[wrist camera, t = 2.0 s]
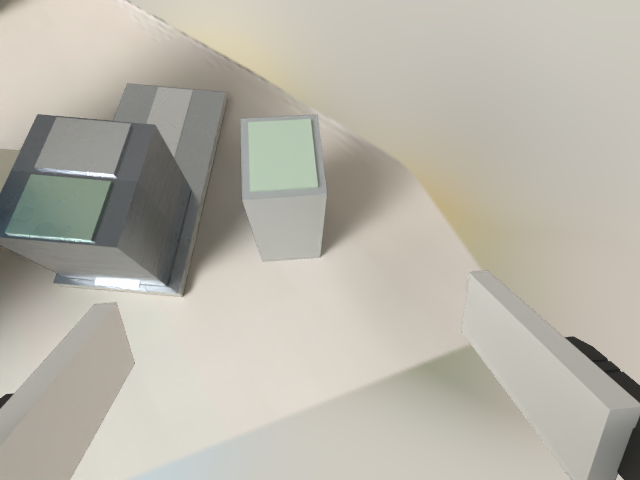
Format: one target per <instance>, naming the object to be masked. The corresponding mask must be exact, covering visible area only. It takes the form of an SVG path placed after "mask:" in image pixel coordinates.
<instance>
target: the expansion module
mask: <svg viewBox="0 0 640 480" xmlns="http://www.w3.org/2000/svg"><path fill="white" fill-rule="evenodd" d="M241 171H242V202H243V205H244V208H245V211H246V214H247V217H248V220H249V223H250V226H251V229H252V232H253V235H254V238H255V241H256V244H257V247H258V250H259V253H260V256H261V259H262V262H268V261H281V260H293V259H306V258H319V257H320V254H321V245H322V236H323V227H324V218H325V209H326V200H327V189H326V181H325V173H324V164H323V156H322V147H321V139H320V130H319V122H318V114H317V115H298V116H278V117H258V118H241Z"/></svg>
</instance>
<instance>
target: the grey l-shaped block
mask: <svg viewBox="0 0 640 480" xmlns="http://www.w3.org/2000/svg"><path fill="white" fill-rule="evenodd" d="M226 103H227V96H226V92H219V91H207V90H196V89H185V88H173V87H162V86H151V85H139V84H128V83H127V85H126V88H125V91H124V93H123V96H122V99H121V101H120V104H119V107H118V110H117V112H116V115H115V118H114V120H113V121H108V120H97V119H86V118H74V117H63V116H51V115H40V114H38V115H37V117H36V119H35V121H34V123H33V125H32V127H31V129H30V131H29V134H28V136H27V138H26V140H25V142H24V144H23V146H22V148H21V150H20V152H19V155H18V157H17V159H16V161H15V163H14V165H13V167H12V169H11V171H10V174H9V176H8V178H7V180H6V182H5V184H4V186H3V188H2V190H1V192H0V246H2V247H4V248H6V249H8V250H10V251H13V252H15V253H17V254H19V255H21V256H23V257H25V258H27V259H29V260H31V261H33V262H35V263H37V264H40V265H42V266H44V267H46V268H48V269H50V270H52V271H54V272H56V273H57V274H56V277H55V279H54V282H53V283H54V284H56V285H59V286H61V287H73V288H85V289H96V290H108V291H120V292H131V293H143V294H155V295H166V296H178V297H183V293H184V289H185V284H186V280H187V275H188V271H189V267H190V262H191V258H192V253H193V249H194V245H195V240H196V236H197V231H198V227H199V223H200V218H201V214H202V209H203V205H204V200H205V196H206V192H207V187H208V183H209V178H210V174H211V170H212V165H213V161H214V156H215V152H216V147H217V143H218V139H219V134H220V130H221V125H222V121H223V117H224V112H225V108H226Z"/></svg>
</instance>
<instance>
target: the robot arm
mask: <svg viewBox="0 0 640 480" xmlns="http://www.w3.org/2000/svg"><path fill="white" fill-rule="evenodd" d="M462 333H463V334H464V335H465V337H466V338H467V340H468V341H469V342H470V344H471V345H472V346H473V348H474V349H475V350H476V351H477V353H478V354H479V356H480V357H481V358H482V360H483V361H484V362H485V364H486V365H487V367H488V368H489V369H490V371H491V372H492V373H493V375H494V376H495V377H496V379H497V380H498V381H499V383H500V384H501V385H502V387H503V388H504V389H505V390H506V392H507V393H508V395H509V396H510V397H511V399H512V400H513V402H514V403H515V404H516V406H517V407H518V408H519V410H520V411H521V412H522V414H523V415H524V417H525V418H526V419H527V421H528V422H529V423H530V425H531V426H532V427H533V429H534V430H535V431H536V433H537V434H538V435H539V437H540V438H541V440H542V441H543V442H544V444H545V445H546V446H547V448H548V449H549V450H550V452H551V453H552V454H553V456H554V457H555V458H556V460H557V461H558V462H559V464H560V465H561V466H562V468H563V469H564V471H565V472H566V473H567V475H568V476H569V477H570V479H571V480H616V478H617V475H618V474H619V475H620V476H621V477H622V478H623V479H624V480H640V385H638V384H637V383H636V382H635V381H634V380H633V379H631V378H630V377H629V376H628V375H626V374H625V373H624V372H621V371H620V369H619V368H618V367H617V366H615V365H614V364H613V363H612V362H611V361H608V360H607V358H606V357H605V356H603V355H602V354H601V353H600V352H598V351H597V350H596V349H595V348H594V347H593V346H591V345H589V344H587V343H585V342H583V341H581V340H579V339H577V338H575V337H563V336H562V335H561V334H560V333H559V332H558V331H557V330H555V329H554V328H553V327H552V326H551V325H550V324H549V323H548V322H546V321H545V320H544V319H543V318H542V317H541V316H540V315H538V314H537V313H536V312H535V311H534V310H533V309H532V308H530V307H529V306H528V305H527V304H526V303H525V302H524V301H522V300H521V299H520V298H519V297H518V296H517V295H515V294H514V293H513V292H512V291H511V290H510V289H509V288H508V287H506V286H505V285H504V284H503V283H502V282H501V281H499V280H498V279H497V278H496V277H495V276H494V275H492V274H491V273H490V272H489V271H488V270H485V271H473V272H468V281H467V290H466V298H465V307H464V316H463V324H462ZM134 364H135V362H134V359H133V355H132V352H131V349H130V345H129V342H128V339H127V335H126V332H125V329H124V325H123V322H122V319H121V315H120V312H119V309H118V305H117V302H114V303H103V304H94V306H93V307H92V308H91V309H90V310H89V311H88V312H87V313H86V314H85V316H84V317H83V318H82V319H81V320H80V321H79V322H78V323H77V324H76V326H75V327H74V328H73V329H72V330H71V331H70V332H69V333H68V334H67V336H66V337H65V338H64V339H63V340H62V341H61V342H60V343H59V344H58V346H57V347H56V348H55V349H54V350H53V351H52V352H51V353H50V354H49V356H48V357H47V358H46V359H45V360H44V361H43V362H42V363H41V364H40V366H39V367H38V368H37V369H36V370H35V371H34V372H33V373H32V374H31V376H30V377H29V378H28V379H27V380H26V381H25V382H24V383H23V384H22V385H21V387H20V388H19V389H18V390H17V391H16V392H15V393H13V394H6V395H4V396H3V397H2V398H0V480H70V479H71V477H72V475H73V474H74V472H75V470H76V468H77V466H78V465H79V463H80V461H81V459H82V457H83V456H84V454H85V452H86V450H87V448H88V447H89V445H90V443H91V441H92V439H93V438H94V436H95V434H96V432H97V430H98V429H99V427H100V425H101V423H102V421H103V420H104V418H105V416H106V414H107V412H108V411H109V409H110V407H111V405H112V403H113V402H114V400H115V398H116V396H117V394H118V393H119V391H120V389H121V387H122V385H123V384H124V382H125V380H126V378H127V376H128V375H129V373H130V371H131V369H132V367H133V366H134Z"/></svg>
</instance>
